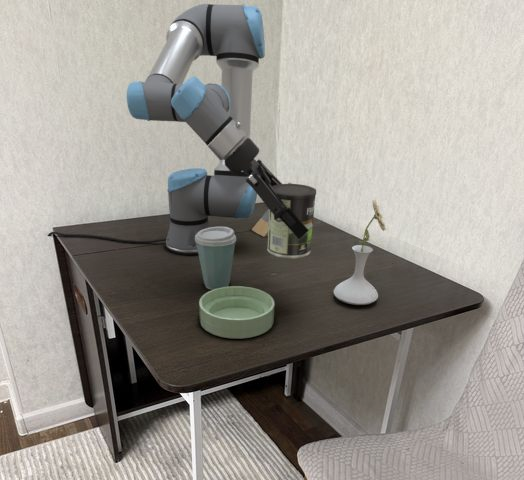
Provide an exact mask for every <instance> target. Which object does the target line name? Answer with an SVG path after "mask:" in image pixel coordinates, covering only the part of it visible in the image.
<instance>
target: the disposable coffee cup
mask: <svg viewBox="0 0 524 480" xmlns="http://www.w3.org/2000/svg"><path fill="white" fill-rule="evenodd" d="M209 227H210V228H206V229H203V230H201V231H199V232H198V233H197V234H196V235H195V241H196V244H197V249H198V254H197V255H198V258H199V264H200V270H201V274H202V279H203V285H204V286H205V288H206V289H208V290H209V291H211V290H214V289H217V288H221V287H229V285H230V283H231V277H232V276H231V275H232V267H233V262H234V261H233V260H234V254H235V248H236V247H235V246H236V242H237V236H236V234H235V231H234V229H233V228H231V227H229V226H209Z"/></svg>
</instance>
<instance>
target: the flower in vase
mask: <svg viewBox="0 0 524 480" xmlns="http://www.w3.org/2000/svg"><path fill="white" fill-rule="evenodd" d="M371 204H372V208H373V211H374V215H373V217H372V218H371V219H370V221H369V222H368V224H367V225H366V226H365V227H366V228H365V229H364V233H363V238H362V239H361V240H359V241H358V243H361V244H356V245H353V246H352V247H351V250H352V251H353V254H354V256H355V258H354V259H355V264H354V266H355V267H354V272H353V274H352V275H351V277H349V278H347V279H345V280H343V281H341V282H340V283H338V284H337V285H336V286H335V287H334V289H333V295H334V296H335V298H336V299H337V300H338V301H341V302H342V303H344V304H348V305H353V306H366V305H370V304H373V303H375V302H376V301H377V300H378V298H379V293H378V291H377V289H376V288H375V287H374V286H373V285H372V284H371V282H369V281H368V280H367V279H366V278H365V275H364V273H365V272H364V271H365V265H366V263H367V259H368V258H369V256H370V254H371V253H373V251H374V249H373V248H372V247H371V246H368V245H365V243H366V242H368V241H370V237H371V236H370V231H369V230H368V228H369V227H370V225H371V224H372V222H373V221H374V220H376V221H377V223H378V225H379V227H380V229H381V231H383V232H384V231H387V228H386V223H385V222H384V221H383V218H384V217H383V214H382V213H381V212H380V207H379V205H378V204H377V200H376V199H372V201H371Z"/></svg>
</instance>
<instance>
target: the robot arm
mask: <svg viewBox="0 0 524 480" xmlns="http://www.w3.org/2000/svg"><path fill="white" fill-rule="evenodd" d="M165 39H166V41H165V44H164V46H163V47H162V50H161V51H160V53H159V55H158V57H157V59H156V61H155V62H154V64H153V67H152V68H151V70H150V72H149V74H148V76H147V78H146V79H145V80H144V81H141V80H140V81H132V82H129V84H128V85H127V89H126V104H127V108H128V113H129V114H130V116H131V117H132V118H133V119H136V120H142V121H148V122H150V121H154V122H155V121H156V122H177V123H178V122H179V123H180V122H181V123H186V124H187V126H189V128H190V129H191V130H192V131H193V132H194V133H195V134H196V135H197V136H198V137H199V138H200V139H201V141H203V143H204V144H205V145H206V146H207V147H208V148H209V149H210V150H211V152H212V153H213V154H214V156H215V157H216V158H217V159H218V160H219V163H218V165H216V166H215V167H214V169H213V171H214V172H213V175H209V174H208V171H207V169H205V168H199V167H197V168H196V167H195V168H194V167H193V168H186V169H185V168H184V169H181V170H177V171H174V172H172V173H170V174H169V175H168V176H167V197H168V209H169V223H170V224H169V227H168V232H167V235H166V237H165V238H157V239H150V240H133V239H123V238H116V237H112V236H104V235H96V234H85V233H64V232H59V231H50V232H49V233H48V234H47V237H51V236H52V235H58V236H63V237H84V238H86V237H87V238H97V239H104V240H111V241H115V242H122V243H132V244H152V243H159V242H165V247H166V250H168V251H169V252H171V253H173V254H177V255H183V256H195V255H199V254H198V249H197V244H196V241H195V235H196V234H197V233H198V232H199V231H201V230H203V229H206V228H210V227H211V226H210V224H209V217H221V218H233V219H247V218H250V217H251V216H252V215H253V213H254V210H255V206H256V202H257V197H259V198H260V199H261V201H262V202H263V203H264V204H265V205H266V207H267V209H270V211H271V212H272V213H273V214H274V218H275V219H278V218H280V219H281V220H282V221H283V222H284V223H285V224H286V225H287V226H288V227H289V229H290V230H291V231H292V232H293V233H294V234H295V235H296V236H297V237H298V239H300V238H301V237H302V236H303V235H304V234H305V233H307V232H308V229H307V228H306V227H305V225H304V224H303V223H302V222H301V221H300V220H299V219H298V218H297V216H296V215H295V214H294V213H293V212H292V211H291V210H290V208H287V207H286V206H285V204H284V203H283V202H282V200H281V199H280V197H279V196H278V195H277V193H276V192H275V190H274V189H273V187H272V186H274V185H278V184H283V183H282V182H281V180H279V179H278V178H277V177H276V175H274V173H272V172H271V171H270V170H269V169H268V167H267V166H266V165H265V164H264V163H263V161H262V160H261V159H257V160H256V159H255V158H256V157H258V155H259V153H260V148H259V147H258V146H257V145H256V143H255V142H254V141H253V140H252V139H251V123H252V97H253V74H254V72H255V71H256V69H258V68H259V64H260V63H259V62H260V61H259V60H262V59H264V58H265V55H266V43H265V41H266V40H265V31H264V21H263V15H262V12H261V10H260V8H259V7H257V6H255V5H246V4H213V3H212V4H211V3H203V4H198V5H194V6H192V7H190V8H188V9H186V10H185V11H184V12H182V13H180V14H179V15H178V16H177V17H176V18H175V19H174V20H173V21H172V22H171V24H170V25H169V27H168V29H167V32H166V37H165ZM201 56H206V57H207V56H209V57H216V59H215V61H216V62H215V64H216V65H217V66H218V67H219V68H220V70H221V82H220V83H221V84H219V83H207V84H205V83H203V82H202V81H201V80H200V79H199V78H198V77H197V76H191V77H189V78H188V79H186V77H187V76H188V73H189V71H190V68H191V66H192V64H193V63H194V61H196V60H197V59H198V58H199V57H201ZM185 80H186V81H185ZM278 207H279V208H278ZM277 208H278V209H277Z"/></svg>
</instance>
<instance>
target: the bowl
mask: <svg viewBox="0 0 524 480" xmlns="http://www.w3.org/2000/svg"><path fill="white" fill-rule="evenodd" d="M275 305H276V304H275V299H274V298H273V297H272V296H271V295H270V294H269V293H268V292H266V291H264V290H262V289H258V288H255V287H250V286H243V285H230V286H229V285H228V287H221V288H217V289H214V290H209V291H207V292H205V293H204V294H203V295H202V296H201V297H200V298H199V301H198V311H199V312H198V313H199V314H198V315H199V323H200V326H201V327H202V329H204V330H205V331H206V332H208V333H210V334H212V335H213V336H217V337H220V338H226V339H250V338H253V337H257V336H261V335H263V334H266V332H268V331H269V330H270V329H271V328H272V327H273V325H274V323H275V321H274V320H275Z"/></svg>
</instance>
